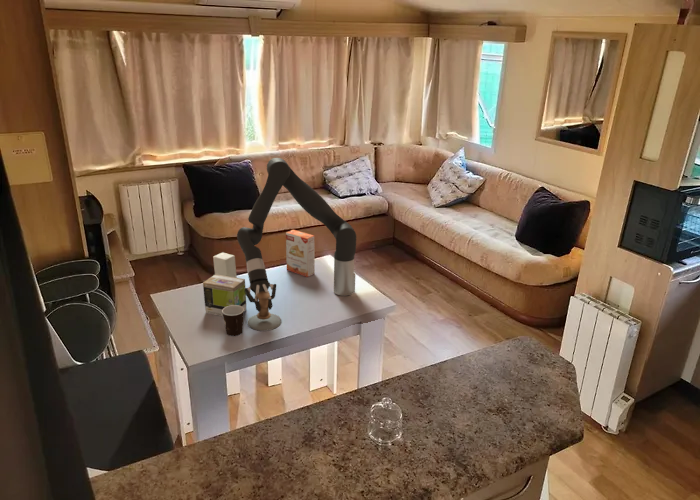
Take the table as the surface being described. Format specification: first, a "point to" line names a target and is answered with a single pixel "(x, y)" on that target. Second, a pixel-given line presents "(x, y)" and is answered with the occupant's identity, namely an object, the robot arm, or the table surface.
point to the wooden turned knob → (263, 305)
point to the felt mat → (264, 323)
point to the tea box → (223, 293)
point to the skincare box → (225, 265)
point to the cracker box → (300, 253)
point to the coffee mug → (233, 319)
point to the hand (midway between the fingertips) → (264, 309)
